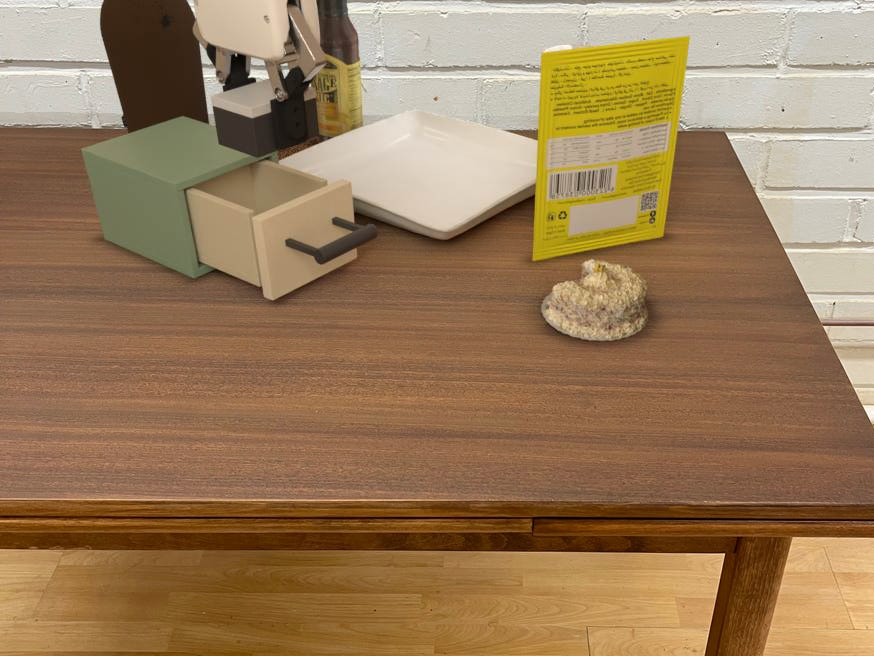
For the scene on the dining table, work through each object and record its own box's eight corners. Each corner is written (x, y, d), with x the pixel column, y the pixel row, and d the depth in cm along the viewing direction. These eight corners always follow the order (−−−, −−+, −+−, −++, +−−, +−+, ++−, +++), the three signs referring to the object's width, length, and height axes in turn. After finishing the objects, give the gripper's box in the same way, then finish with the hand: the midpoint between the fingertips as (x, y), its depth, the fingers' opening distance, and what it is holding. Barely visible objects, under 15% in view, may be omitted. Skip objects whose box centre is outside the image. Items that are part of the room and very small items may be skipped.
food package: (660, 235, 102) (687, 34, 89) (665, 239, 101) (693, 37, 88) (530, 259, 97) (538, 51, 85) (534, 263, 96) (544, 54, 84)
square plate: (447, 264, 96) (447, 227, 94) (261, 198, 109) (256, 164, 107) (590, 182, 113) (593, 149, 111) (414, 133, 126) (412, 103, 123)
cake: (661, 307, 90) (673, 256, 87) (626, 358, 84) (637, 305, 80) (565, 277, 93) (572, 227, 90) (523, 324, 86) (529, 271, 83)
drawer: (396, 272, 93) (392, 194, 88) (312, 318, 86) (302, 236, 81) (265, 222, 102) (254, 149, 97) (179, 260, 95) (162, 183, 90)
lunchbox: (257, 158, 78) (250, 108, 75) (218, 144, 80) (210, 95, 78) (320, 135, 82) (315, 87, 80) (280, 123, 85) (274, 76, 82)
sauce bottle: (306, 141, 123) (287, -30, 111) (345, 130, 127) (331, -37, 114) (336, 155, 120) (320, -20, 107) (375, 143, 123) (364, -28, 110)
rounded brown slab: (235, 150, 121) (200, -75, 105) (187, 180, 113) (142, -59, 97) (163, 140, 123) (119, -82, 108) (112, 168, 116) (56, -66, 100)
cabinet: (288, 235, 101) (277, 145, 95) (194, 279, 93) (175, 183, 87) (199, 201, 108) (182, 115, 102) (104, 239, 100) (80, 148, 94)
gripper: (356, -107, 68) (372, 148, 79) (202, -127, 76) (237, 106, 88) (276, -94, 63) (306, 174, 75) (122, -118, 72) (170, 127, 83)
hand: (268, 135), depth 81 cm, fingers closed on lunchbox, 5 cm apart
